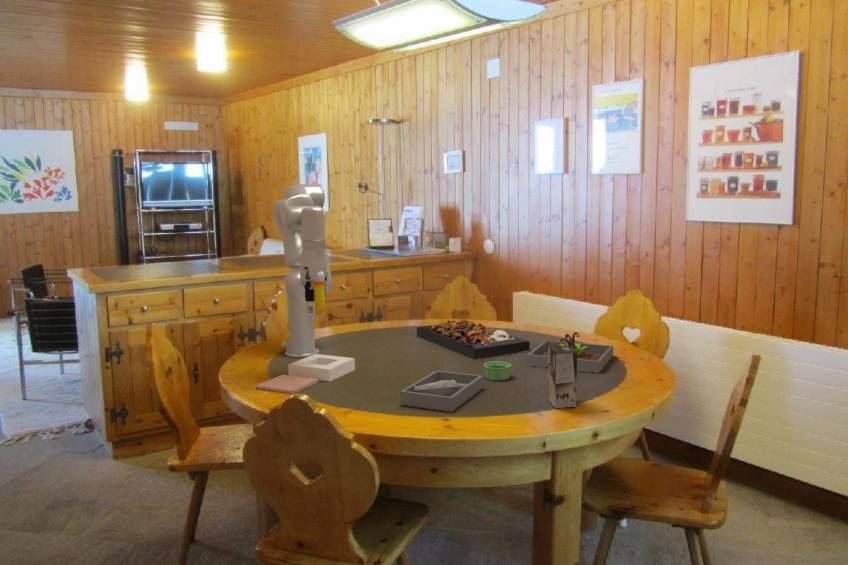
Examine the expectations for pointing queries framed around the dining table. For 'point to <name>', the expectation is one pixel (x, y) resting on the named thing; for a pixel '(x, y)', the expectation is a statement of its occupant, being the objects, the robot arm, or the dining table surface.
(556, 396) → the coffee box
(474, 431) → the dining table surface
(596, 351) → the planter frame
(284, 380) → the coaster tile
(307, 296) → the robot arm
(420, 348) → the dining table surface
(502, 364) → the ramekin
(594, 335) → the dining table surface
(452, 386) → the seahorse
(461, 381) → the grey tray
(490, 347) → the food platter
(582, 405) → the dining table surface
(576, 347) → the plant
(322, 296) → the beer can
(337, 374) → the frame
